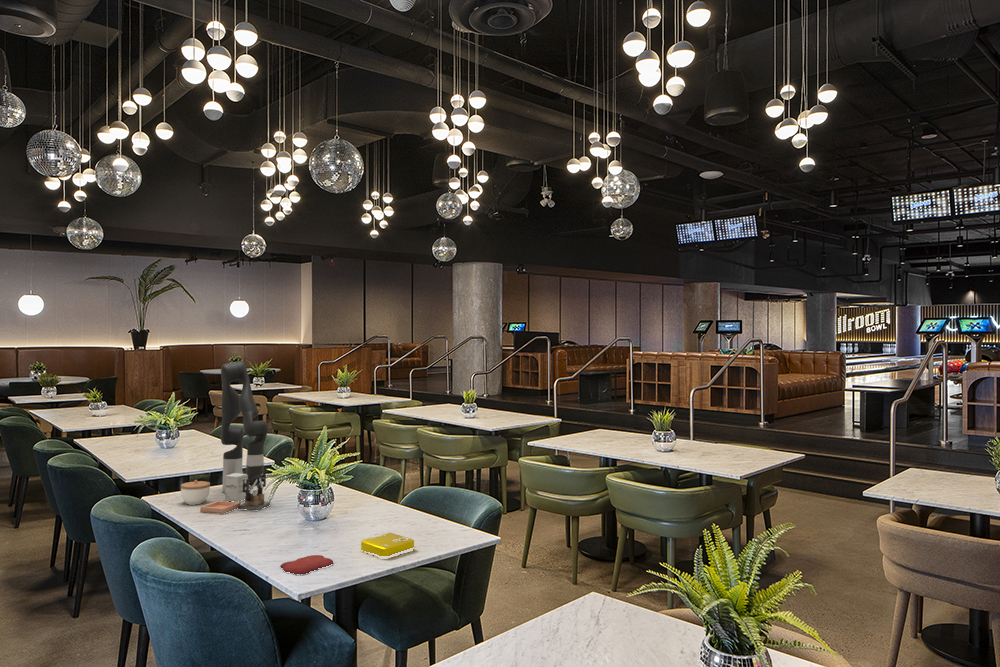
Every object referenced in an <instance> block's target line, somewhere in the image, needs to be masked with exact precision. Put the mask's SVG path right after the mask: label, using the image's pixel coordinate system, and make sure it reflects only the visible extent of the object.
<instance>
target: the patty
mask: <svg viewBox="0 0 1000 667" xmlns="http://www.w3.org/2000/svg"><path fill="white" fill-rule="evenodd" d="M333 561H334V560H333V559H331V558H329V557H325V556H323V555H322V554H316V555H315V554H313V555H306V556H304V557H299V558H297V559H296V560H293V561H292V560H291V561H287V562H283V563H282V564H281V565H280V567H281V568H283V569H282V571H283V570H284V571H285V572H290V573H294V574H306V573H309V572H310V571H314V570H317V569H318V568H322V567H326V566H329V565H331V564H333ZM281 568H280V569H281ZM318 570H319V569H318ZM318 570H317V571H318ZM284 571H283V572H284ZM285 572H284V573H285ZM314 572H315V571H314ZM310 573H311V572H310ZM310 573H309V574H310ZM294 574H293V575H294Z"/></svg>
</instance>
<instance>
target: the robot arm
mask: <svg viewBox="0 0 1000 667" xmlns="http://www.w3.org/2000/svg"><path fill="white" fill-rule="evenodd" d="M220 376H221V428H220V441H221V444H222V446H223V445H224V446H235V445H236V446H235V447H234V448H232V449H230V450H227V451H225V452H223V456H222V458H223V459H222V488H221V489H222V493H223V492H224V494H225V487H226V475H230V474H233V473H241V474H244V471H243V460H244V459H243V457H244V455H243V452H244V451H243V449H244V448H243V447H244V437H245V435H246V436H247V437H249V438H251V437H255V438H254V439H253V440H252V441H249V442H248V444H247V447H246V448H247V450H246V451H247V453H246V454H247V455H246V461H245V462H246V463H245V464H246V466H245V467H246V468H245V474H247V475H248V479H243V491H242V492H245V493H246V501H251V494H252V492H253V489H254V488H255V487H256V488H257V489H256V490H257V493H258V494H263V490H264V488H265V487H267V486H266V485H267V483H266V482H267V478H266V476H267V475H266V474H265V473H264V468H265V466H264V463H265V461H264V460H265V459H264V444H265V441H266V438H267V434H268V431H269V426H268V424H267V422H266V421H265V420H253V419H255V418H257V417H258V415H259V411H258V407H257V404H256V402H255V399H254V396H253V390H252V386H251V380H250V377H249V372H248V368H247V366H246V364H245V362H244V361H242V360H241V361H240V360H239V361H233V362H227V363H224V364H222V365H221V368H220ZM238 381H241V382H242V383H241V384H242V388H241V392H240V394H239V393H238V392H237V391H236V390H235V389H234V388H233V387H232V386H231V383H233V382H238ZM240 414H241V415H242V421H243V422H242V423H243V427H242V426H231V424H232V422H234V420H236V419H237V418H238V416H239V415H240ZM245 487H246V490H245Z"/></svg>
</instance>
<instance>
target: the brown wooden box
mask: <svg viewBox="0 0 1000 667" xmlns="http://www.w3.org/2000/svg"><path fill="white" fill-rule="evenodd" d="M264 501H265V493H262V494H258V493H257V496H253V492H251V501H246V496H245V500H244V503H245V505H255V506H257V505H259V504H262V503H264Z"/></svg>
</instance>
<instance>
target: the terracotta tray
mask: <svg viewBox="0 0 1000 667" xmlns="http://www.w3.org/2000/svg"><path fill="white" fill-rule="evenodd" d="M241 504H242V503H241V502H229V501H225V500H224V501H223V500H216V501H214V502H211V503H208V504H204V505H202V506H200V507H199V512H207V513H206V514H212V513H220V514H219V515H225V514H224V513H226V512H229V511H231V512H233V511H232V510H234V509H237V508H238V505H241ZM237 510H238V509H237ZM234 511H235V510H234ZM229 513H230V512H229ZM226 514H227V513H226Z"/></svg>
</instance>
